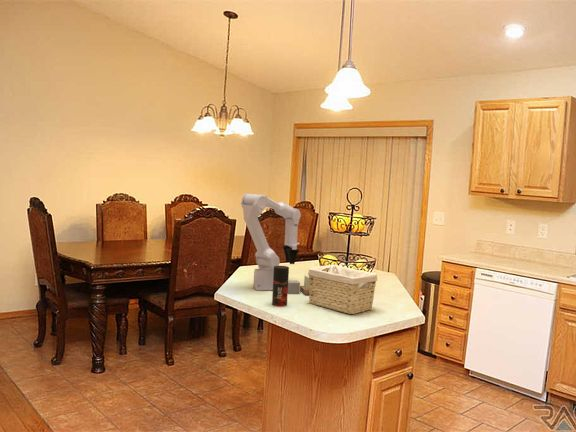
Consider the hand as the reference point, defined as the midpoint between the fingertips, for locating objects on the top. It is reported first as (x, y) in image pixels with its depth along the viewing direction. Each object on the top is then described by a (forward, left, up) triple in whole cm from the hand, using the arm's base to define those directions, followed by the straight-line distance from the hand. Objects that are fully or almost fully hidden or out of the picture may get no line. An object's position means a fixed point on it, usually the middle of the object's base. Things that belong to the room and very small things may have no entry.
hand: (290, 262), depth 229 cm
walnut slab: (+6, -18, -11) cm, 22 cm away
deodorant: (-12, -35, -11) cm, 39 cm away
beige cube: (+6, -18, -8) cm, 20 cm away
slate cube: (-2, -16, -11) cm, 19 cm away
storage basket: (+12, -39, -11) cm, 42 cm away
